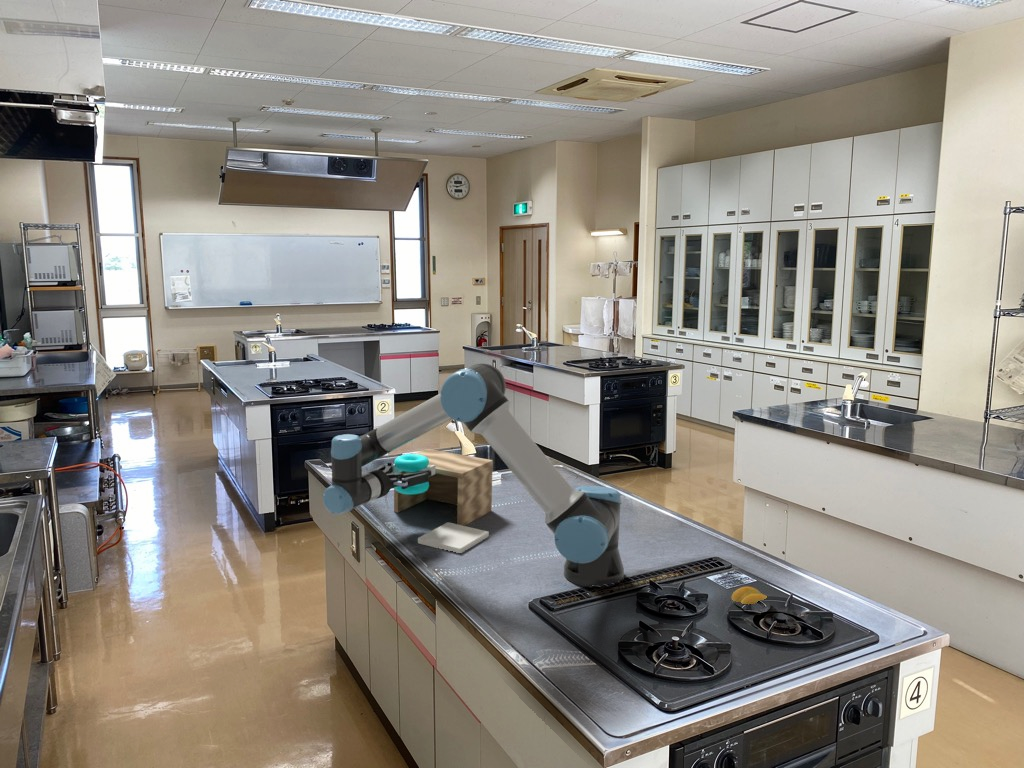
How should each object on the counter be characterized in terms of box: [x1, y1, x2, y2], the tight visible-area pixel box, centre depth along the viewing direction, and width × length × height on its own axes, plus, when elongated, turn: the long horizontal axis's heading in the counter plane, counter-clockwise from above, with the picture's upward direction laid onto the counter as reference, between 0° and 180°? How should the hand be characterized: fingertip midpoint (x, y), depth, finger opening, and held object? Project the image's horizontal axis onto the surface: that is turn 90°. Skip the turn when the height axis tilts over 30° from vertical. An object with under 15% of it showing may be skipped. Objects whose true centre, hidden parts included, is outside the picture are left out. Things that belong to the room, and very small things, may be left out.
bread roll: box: [731, 586, 767, 605], centre depth 174 cm, size 8×9×4 cm
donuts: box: [393, 453, 429, 495], centre depth 215 cm, size 10×10×10 cm
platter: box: [417, 522, 490, 554], centre depth 209 cm, size 15×14×2 cm
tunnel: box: [393, 448, 494, 526], centre depth 231 cm, size 18×25×16 cm
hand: (420, 466), depth 219 cm, fingers closed on donuts, 9 cm apart
